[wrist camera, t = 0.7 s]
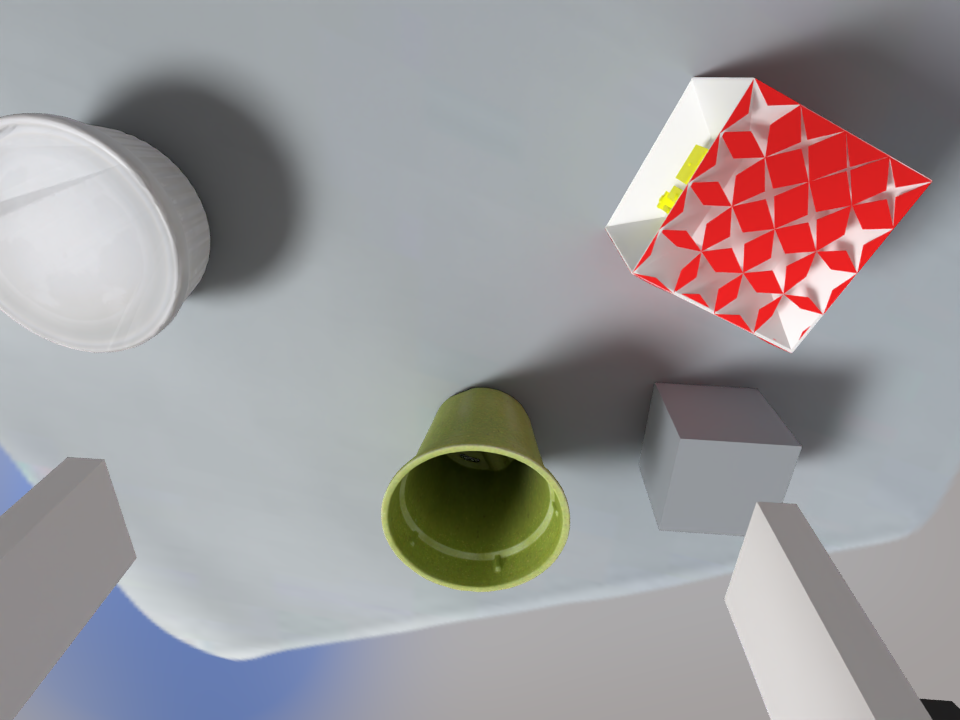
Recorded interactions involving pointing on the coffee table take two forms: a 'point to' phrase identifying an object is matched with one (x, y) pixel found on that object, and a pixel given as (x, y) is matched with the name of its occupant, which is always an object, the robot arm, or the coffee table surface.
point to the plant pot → (477, 499)
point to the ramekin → (94, 233)
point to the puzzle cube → (758, 208)
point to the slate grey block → (713, 457)
